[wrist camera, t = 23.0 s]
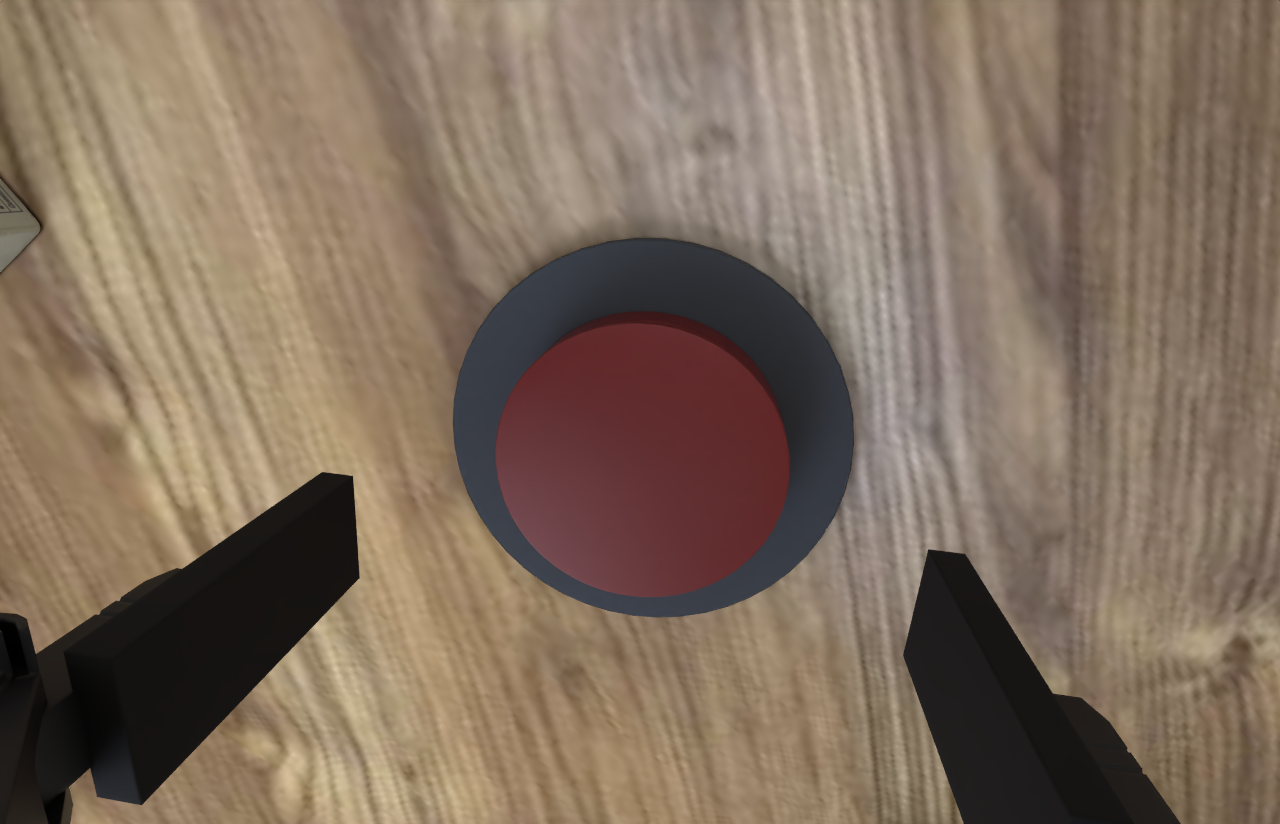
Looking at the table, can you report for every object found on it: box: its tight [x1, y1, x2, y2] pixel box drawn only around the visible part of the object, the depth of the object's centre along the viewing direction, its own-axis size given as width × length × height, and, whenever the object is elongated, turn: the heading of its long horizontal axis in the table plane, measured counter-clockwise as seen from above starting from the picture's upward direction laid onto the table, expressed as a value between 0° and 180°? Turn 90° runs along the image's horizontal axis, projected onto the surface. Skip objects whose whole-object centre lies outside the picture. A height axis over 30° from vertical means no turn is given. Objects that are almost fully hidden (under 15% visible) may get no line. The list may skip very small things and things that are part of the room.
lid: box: [496, 311, 790, 597], centre depth 21 cm, size 9×9×2 cm
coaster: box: [453, 238, 854, 617], centre depth 22 cm, size 13×13×1 cm
